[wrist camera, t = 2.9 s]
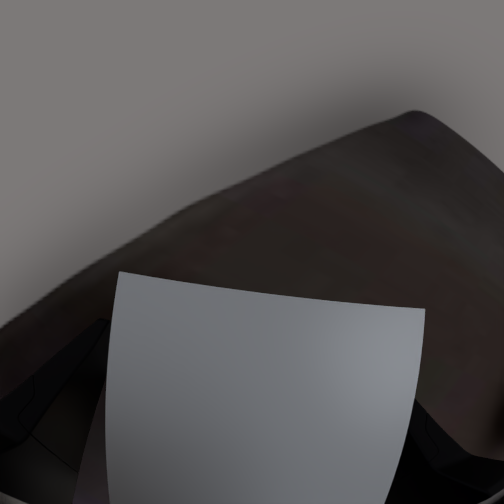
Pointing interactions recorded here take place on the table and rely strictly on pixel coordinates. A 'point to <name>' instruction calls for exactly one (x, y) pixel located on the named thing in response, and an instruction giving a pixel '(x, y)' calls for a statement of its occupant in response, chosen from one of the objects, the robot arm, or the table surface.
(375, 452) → the block
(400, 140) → the table surface
